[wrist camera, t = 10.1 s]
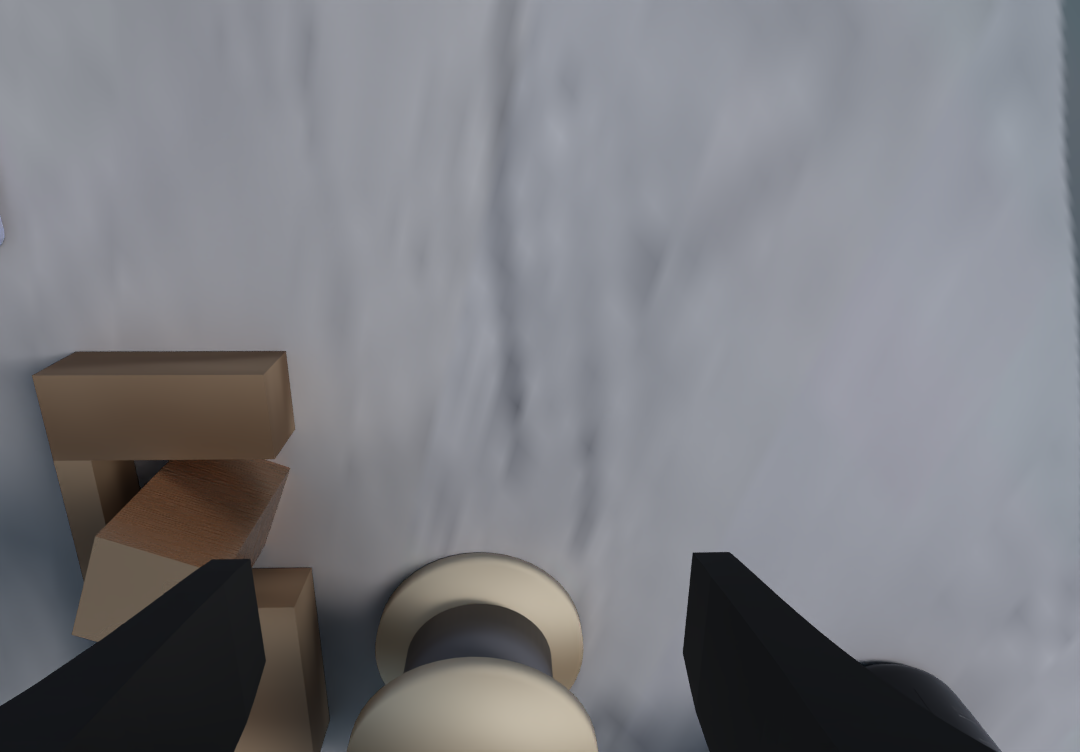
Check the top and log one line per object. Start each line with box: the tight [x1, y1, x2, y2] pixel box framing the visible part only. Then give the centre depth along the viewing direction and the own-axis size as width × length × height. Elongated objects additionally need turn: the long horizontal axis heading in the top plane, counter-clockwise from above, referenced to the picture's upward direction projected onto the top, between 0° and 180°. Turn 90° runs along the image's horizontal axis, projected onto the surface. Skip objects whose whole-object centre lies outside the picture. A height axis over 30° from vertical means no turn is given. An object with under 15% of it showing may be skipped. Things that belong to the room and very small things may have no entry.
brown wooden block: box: [72, 459, 290, 642], centre depth 20 cm, size 3×3×6 cm
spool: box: [347, 553, 598, 752], centre depth 22 cm, size 7×7×6 cm
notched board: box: [32, 351, 330, 752], centre depth 22 cm, size 14×6×2 cm, turn 179°
